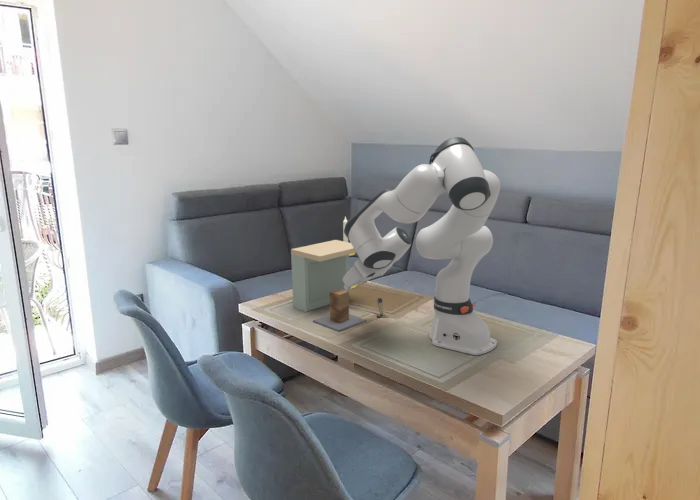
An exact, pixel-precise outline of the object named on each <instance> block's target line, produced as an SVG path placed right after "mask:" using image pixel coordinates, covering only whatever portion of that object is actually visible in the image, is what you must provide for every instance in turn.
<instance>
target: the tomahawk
mask: <svg viewBox="0 0 700 500" xmlns="http://www.w3.org/2000/svg"><path fill="white" fill-rule="evenodd" d="M377 304H378V310H379V314H378V315H376V318H378V319H380V318H381V319H389V316H386V314H384V309H383V308H384V307H383V299H382V298H380V297H378V298H377Z"/></svg>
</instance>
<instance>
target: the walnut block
mask: <svg viewBox="0 0 700 500" xmlns="http://www.w3.org/2000/svg"><path fill="white" fill-rule="evenodd" d="M329 293H330V304H329V314H330V321H333V322H337V323H340V324H341V323H343V322H345V321H347V320H349V314H350V303H349V302H350V300H349V299H350V290H349V291H345V290H341V289H337V290H334V291H331V292H329Z"/></svg>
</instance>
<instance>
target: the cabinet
mask: <svg viewBox="0 0 700 500" xmlns="http://www.w3.org/2000/svg"><path fill="white" fill-rule="evenodd" d="M353 253H355V254H357V253H356V251H355V249H354V248H353V246H352V244H351V242H349V241H348V242H344V241H343V240H339V239H332V240H329V241H324V242H319V243H315V244H314V243H313V244H308V245H306V246H298V247H295V248H291V250H290V255H291V256H290V257H291V258H290V259H291V283H292V284H291V285H292V307H293V308H294V309H297V310H299V311H302V312H305V313H308V312H310V311H312V310H317V309H319V308H323V307H325V306H328V305H330V293H329V292H331V291H334V290H337V289H341V290H345V288H344V286H345V284H344V282H343V277H344V276H345V275H346V273H347V272H348V271H349V270H350V256H349V254H353ZM345 291H349V292H350V289H349V290H345Z"/></svg>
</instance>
